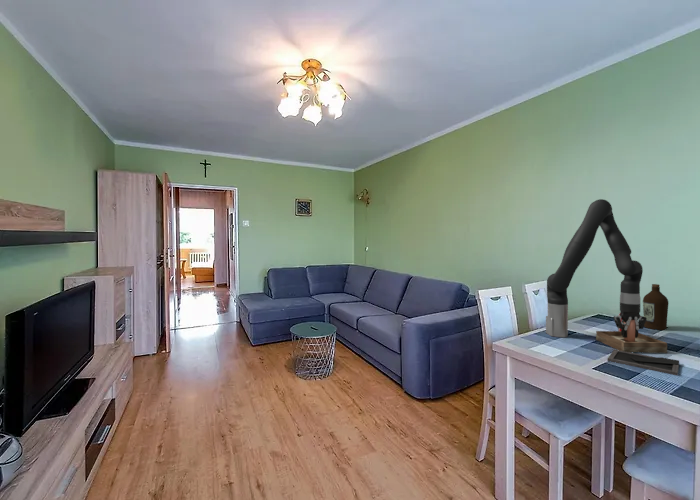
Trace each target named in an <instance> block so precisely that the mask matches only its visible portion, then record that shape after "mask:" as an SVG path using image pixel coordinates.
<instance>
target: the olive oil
mask: <svg viewBox="0 0 700 500" xmlns="http://www.w3.org/2000/svg"><path fill="white" fill-rule="evenodd" d="M660 288H661V287H660V284H658V283H652V284H651V290H650V291H649V292H648V293H646V294H645V295H644V297H643V299H642V308H643V309H642V310H643V311H642V312H643V316H644V317H646V318H647V319H646V322H645V324H644V327H643V328H646V329H649V328H650V329H649V330H655V329H657V330H656V331H665V330H664V329H666V330H667V328H668V327H667V326H668V315H669V314H668V311H669V299H668V298H667V296H665V295H664V294H663V293H662V292H661V289H660Z"/></svg>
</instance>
